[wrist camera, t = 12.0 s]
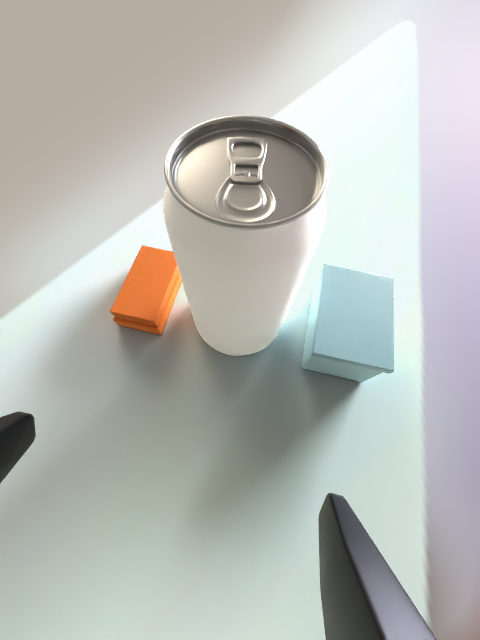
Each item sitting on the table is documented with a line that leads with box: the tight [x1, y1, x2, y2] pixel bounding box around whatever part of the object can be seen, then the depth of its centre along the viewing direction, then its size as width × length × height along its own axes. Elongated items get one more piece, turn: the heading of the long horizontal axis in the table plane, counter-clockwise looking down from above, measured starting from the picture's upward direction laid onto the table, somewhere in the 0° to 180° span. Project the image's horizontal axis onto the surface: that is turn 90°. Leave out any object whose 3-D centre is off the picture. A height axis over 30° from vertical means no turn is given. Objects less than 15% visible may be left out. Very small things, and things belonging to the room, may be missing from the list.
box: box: [301, 264, 394, 382], centre depth 18 cm, size 6×4×4 cm
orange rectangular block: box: [110, 246, 182, 335], centre depth 20 cm, size 6×3×2 cm, turn 167°
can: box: [163, 116, 329, 356], centre depth 15 cm, size 6×6×12 cm
